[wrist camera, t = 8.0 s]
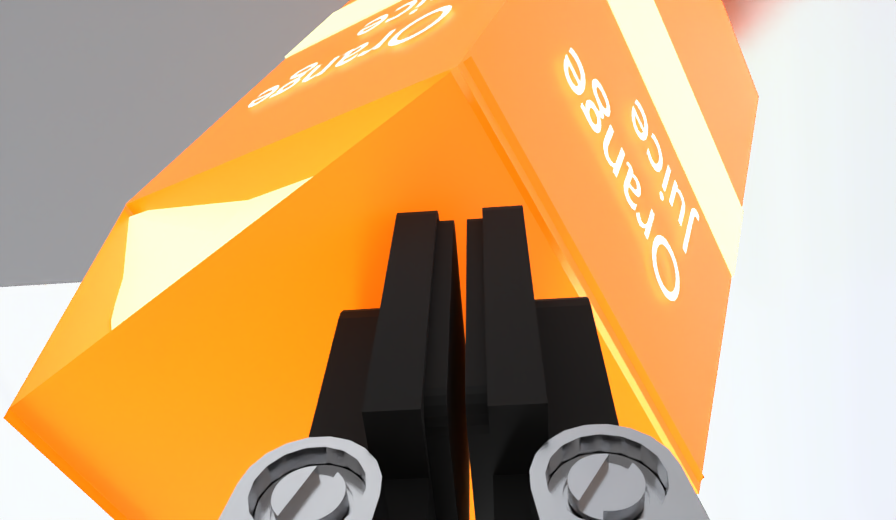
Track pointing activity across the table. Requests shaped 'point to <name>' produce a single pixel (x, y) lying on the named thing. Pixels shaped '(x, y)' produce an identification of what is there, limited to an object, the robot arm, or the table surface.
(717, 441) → the table surface
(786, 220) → the table surface
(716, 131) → the orange juice
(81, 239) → the mat
